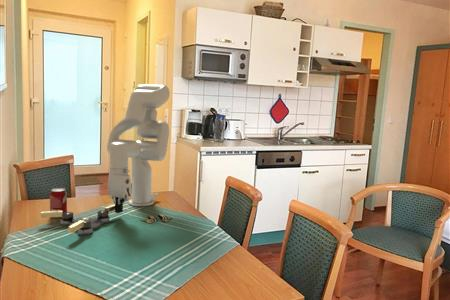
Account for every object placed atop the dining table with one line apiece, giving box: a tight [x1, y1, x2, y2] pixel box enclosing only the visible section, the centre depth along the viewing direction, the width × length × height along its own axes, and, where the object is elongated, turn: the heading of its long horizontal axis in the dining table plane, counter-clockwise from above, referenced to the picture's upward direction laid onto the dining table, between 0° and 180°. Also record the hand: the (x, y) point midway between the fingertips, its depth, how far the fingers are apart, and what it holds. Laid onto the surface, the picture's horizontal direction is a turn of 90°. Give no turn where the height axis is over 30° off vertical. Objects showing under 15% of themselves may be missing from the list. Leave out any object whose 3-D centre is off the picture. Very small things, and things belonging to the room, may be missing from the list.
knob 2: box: [97, 203, 115, 219], centre depth 165 cm, size 13×4×4 cm, turn 155°
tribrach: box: [60, 215, 110, 236], centre depth 157 cm, size 17×19×3 cm
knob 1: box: [67, 220, 91, 234], centre depth 144 cm, size 13×4×4 cm, turn 169°
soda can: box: [49, 187, 68, 219], centre depth 166 cm, size 7×7×12 cm
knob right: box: [38, 210, 74, 221], centre depth 155 cm, size 13×4×4 cm, turn 109°
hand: (118, 212), depth 166 cm, fingers closed
